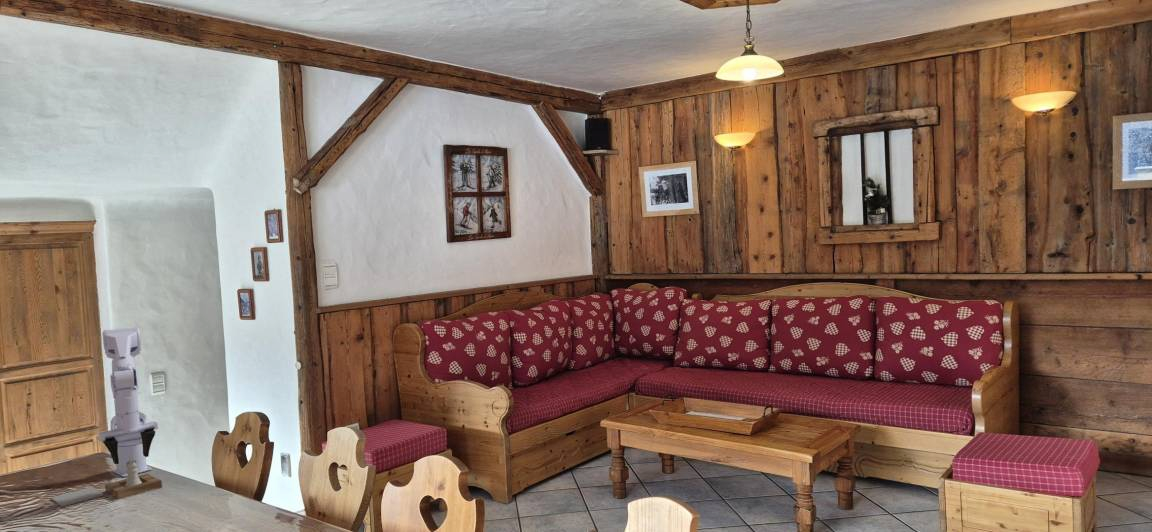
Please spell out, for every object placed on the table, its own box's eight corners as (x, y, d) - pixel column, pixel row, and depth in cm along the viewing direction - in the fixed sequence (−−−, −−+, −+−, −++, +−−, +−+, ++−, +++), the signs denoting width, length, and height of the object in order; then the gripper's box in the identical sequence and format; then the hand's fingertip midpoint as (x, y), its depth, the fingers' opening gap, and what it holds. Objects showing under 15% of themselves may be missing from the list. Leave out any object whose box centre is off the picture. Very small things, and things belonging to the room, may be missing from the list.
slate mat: (51, 499, 210) (51, 497, 210) (92, 488, 217) (92, 486, 217) (61, 506, 203) (61, 504, 203) (103, 495, 210) (103, 493, 210)
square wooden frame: (105, 491, 214) (105, 484, 214) (147, 480, 222) (147, 473, 222) (118, 499, 207) (118, 492, 206) (162, 487, 215) (161, 480, 215)
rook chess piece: (136, 491, 212) (134, 463, 212) (121, 492, 212) (118, 464, 212) (146, 486, 216) (143, 459, 216) (130, 487, 217) (128, 459, 216)
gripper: (102, 420, 205) (107, 469, 206) (160, 408, 216) (164, 455, 216) (94, 416, 210) (98, 464, 210) (151, 405, 220) (154, 451, 221)
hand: (131, 459), depth 214 cm, fingers open, 7 cm apart
